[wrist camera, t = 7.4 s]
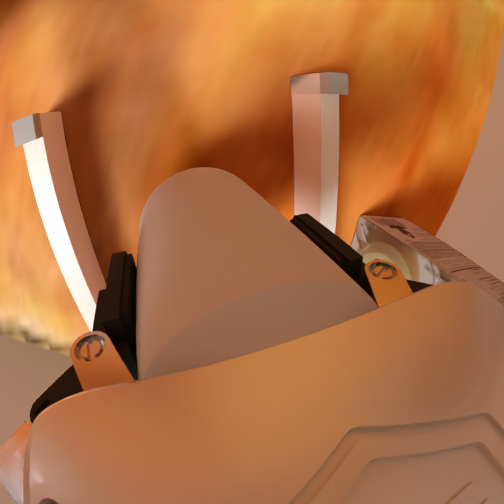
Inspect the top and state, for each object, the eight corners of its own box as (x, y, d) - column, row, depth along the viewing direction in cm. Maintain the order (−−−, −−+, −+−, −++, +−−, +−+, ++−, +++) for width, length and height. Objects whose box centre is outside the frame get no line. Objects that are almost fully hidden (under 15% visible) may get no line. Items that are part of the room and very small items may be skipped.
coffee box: (376, 296, 28) (476, 401, 15) (329, 303, 26) (436, 436, 13) (405, 215, 24) (540, 311, 11) (358, 211, 22) (521, 334, 9)
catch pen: (307, 77, 16) (347, 73, 12) (306, 274, 23) (334, 306, 20) (43, 117, 12) (11, 123, 8) (107, 321, 19) (104, 365, 16)
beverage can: (240, 276, 18) (341, 452, 8) (134, 269, 15) (151, 491, 5) (268, 175, 15) (454, 312, 5) (148, 155, 13) (142, 338, 3)
